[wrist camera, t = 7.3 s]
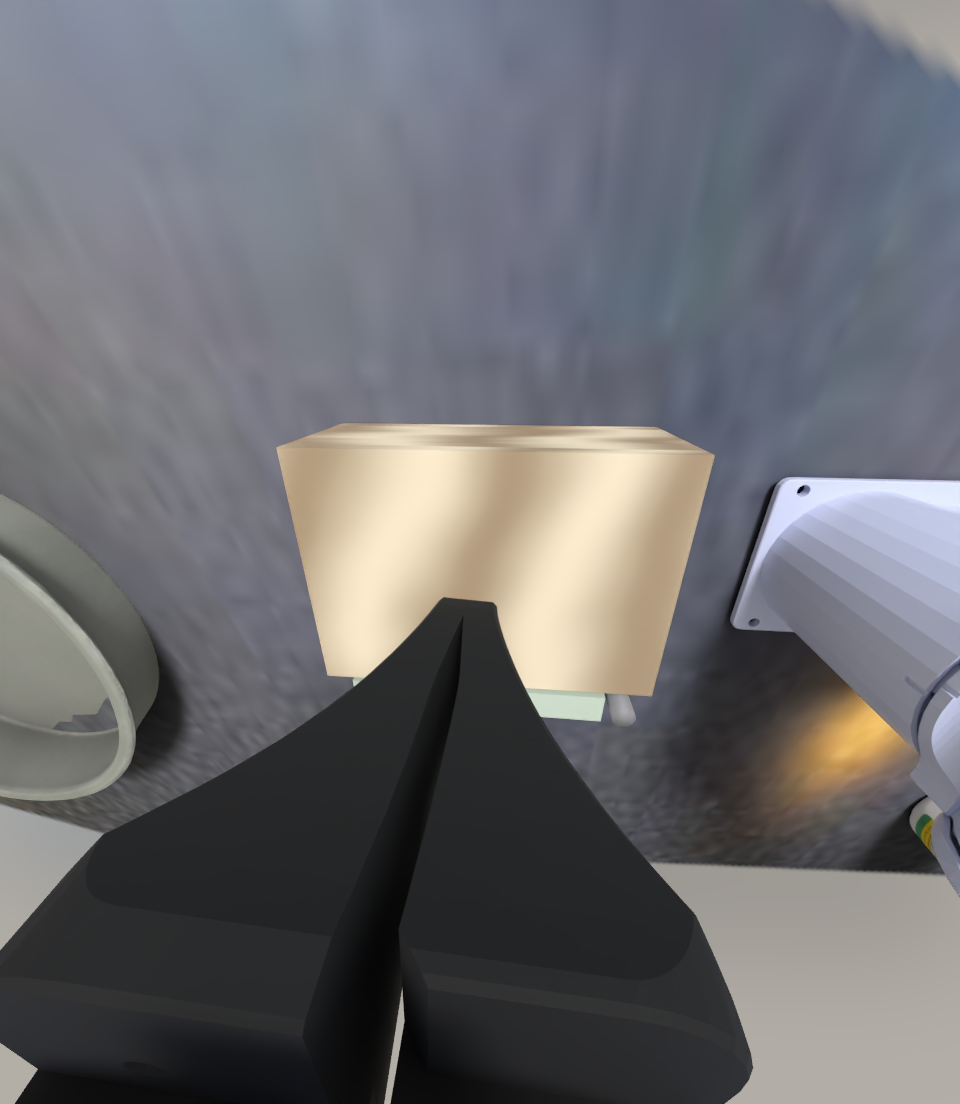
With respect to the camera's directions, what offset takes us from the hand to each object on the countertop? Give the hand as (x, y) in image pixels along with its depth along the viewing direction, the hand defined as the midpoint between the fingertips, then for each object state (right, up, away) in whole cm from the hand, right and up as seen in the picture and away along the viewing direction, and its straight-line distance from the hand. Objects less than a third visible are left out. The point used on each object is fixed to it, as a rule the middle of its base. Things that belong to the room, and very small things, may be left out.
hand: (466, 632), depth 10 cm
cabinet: (+1, +3, +10) cm, 11 cm away
